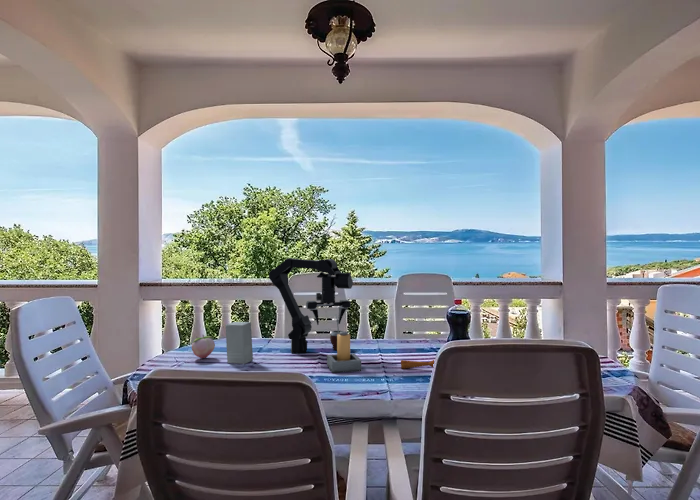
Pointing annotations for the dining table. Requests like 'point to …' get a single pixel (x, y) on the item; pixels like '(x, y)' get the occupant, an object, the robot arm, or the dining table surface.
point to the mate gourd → (335, 336)
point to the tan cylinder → (343, 346)
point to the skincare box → (239, 342)
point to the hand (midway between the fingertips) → (328, 324)
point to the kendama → (415, 364)
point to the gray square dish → (344, 364)
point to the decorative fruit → (203, 346)
